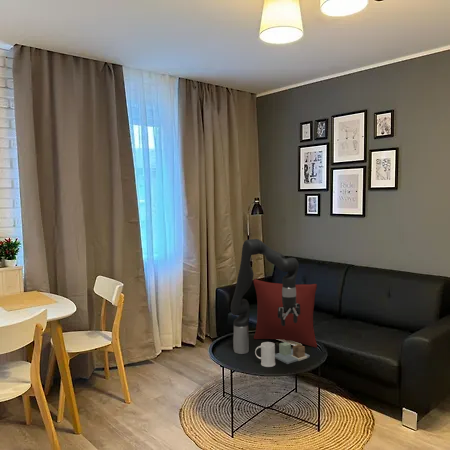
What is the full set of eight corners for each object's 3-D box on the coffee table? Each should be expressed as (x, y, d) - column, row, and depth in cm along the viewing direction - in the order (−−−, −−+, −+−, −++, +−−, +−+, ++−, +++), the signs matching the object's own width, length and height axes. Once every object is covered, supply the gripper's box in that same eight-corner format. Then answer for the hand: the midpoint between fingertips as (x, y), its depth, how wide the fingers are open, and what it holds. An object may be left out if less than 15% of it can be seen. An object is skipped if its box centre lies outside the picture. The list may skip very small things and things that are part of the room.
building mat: (271, 356, 267) (271, 354, 266) (293, 349, 276) (293, 348, 276) (287, 364, 255) (287, 362, 254) (310, 357, 264) (310, 355, 264)
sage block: (279, 353, 269) (279, 343, 269) (285, 351, 272) (285, 341, 271) (284, 355, 265) (284, 346, 264) (290, 353, 268) (290, 344, 267)
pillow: (320, 343, 287) (320, 281, 283) (314, 351, 274) (314, 286, 270) (258, 335, 305) (257, 276, 302) (250, 342, 292) (249, 281, 288)
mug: (253, 365, 254) (253, 345, 253) (257, 360, 262) (256, 340, 261) (274, 367, 250) (273, 347, 249) (276, 361, 258) (276, 342, 257)
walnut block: (293, 355, 265) (292, 346, 264) (299, 353, 267) (299, 344, 267) (298, 358, 260) (298, 348, 260) (304, 356, 263) (304, 346, 263)
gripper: (294, 291, 242) (294, 320, 243) (274, 295, 234) (274, 325, 235) (303, 294, 235) (303, 323, 237) (283, 298, 228) (284, 328, 229)
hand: (289, 324), depth 236 cm, fingers open, 8 cm apart
